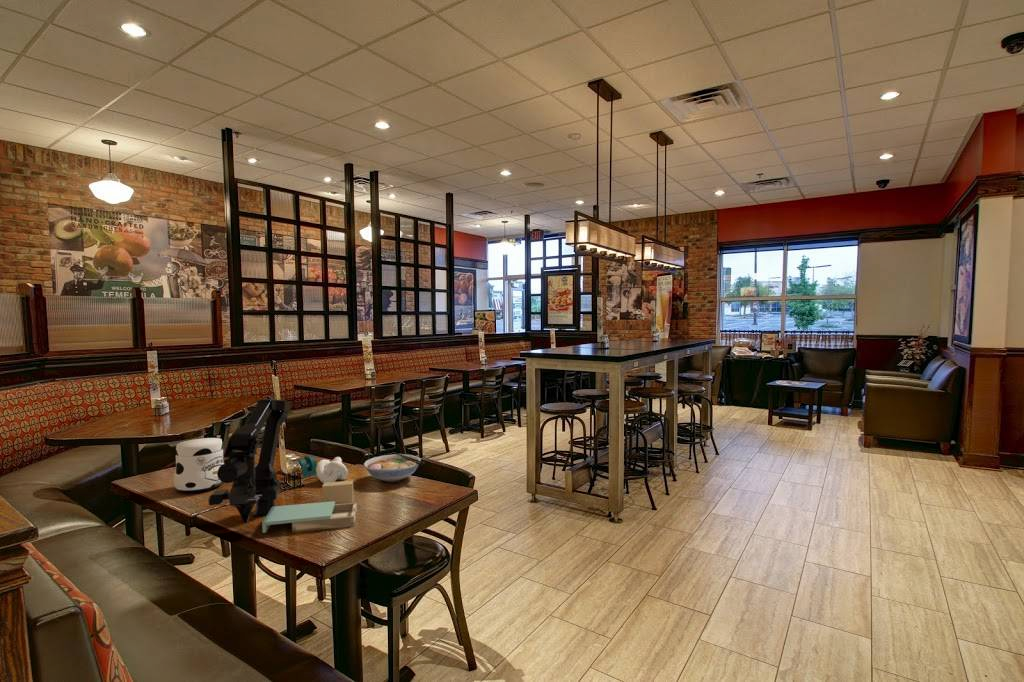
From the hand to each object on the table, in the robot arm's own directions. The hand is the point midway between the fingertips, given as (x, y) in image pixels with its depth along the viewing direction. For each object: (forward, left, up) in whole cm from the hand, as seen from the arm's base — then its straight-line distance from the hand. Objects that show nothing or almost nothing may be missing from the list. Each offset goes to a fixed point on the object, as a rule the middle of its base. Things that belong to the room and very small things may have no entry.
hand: (245, 522), depth 151 cm
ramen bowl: (-38, +44, -2) cm, 59 cm away
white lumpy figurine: (-43, +20, -2) cm, 48 cm away
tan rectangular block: (-16, +25, -2) cm, 30 cm away
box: (0, +23, -2) cm, 24 cm away
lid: (0, +16, -1) cm, 16 cm away
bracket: (-58, +4, -2) cm, 59 cm away
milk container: (-47, -29, -2) cm, 55 cm away
